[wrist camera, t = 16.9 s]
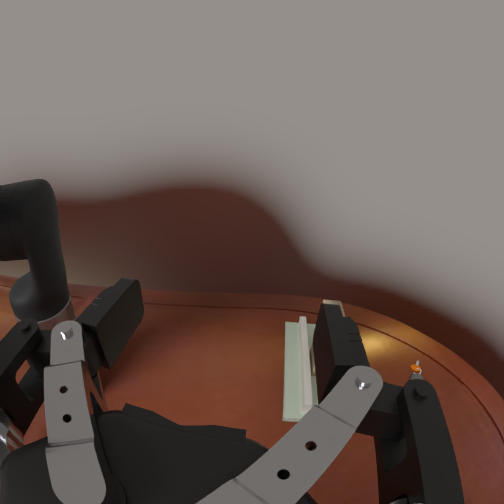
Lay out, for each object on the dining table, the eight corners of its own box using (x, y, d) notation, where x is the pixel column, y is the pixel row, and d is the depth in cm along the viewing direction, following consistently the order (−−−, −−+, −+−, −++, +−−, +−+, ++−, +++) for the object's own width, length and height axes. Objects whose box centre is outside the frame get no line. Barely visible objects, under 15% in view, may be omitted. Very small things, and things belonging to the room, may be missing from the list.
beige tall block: (311, 376, 43) (328, 322, 38) (309, 352, 48) (323, 299, 43) (328, 376, 42) (347, 323, 38) (325, 353, 48) (340, 301, 43)
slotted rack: (357, 421, 34) (365, 409, 33) (282, 420, 35) (286, 409, 34) (339, 329, 56) (343, 316, 55) (285, 325, 57) (287, 312, 56)
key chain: (425, 400, 37) (429, 396, 36) (408, 399, 38) (412, 394, 37) (419, 356, 48) (422, 351, 47) (405, 353, 49) (408, 348, 48)
